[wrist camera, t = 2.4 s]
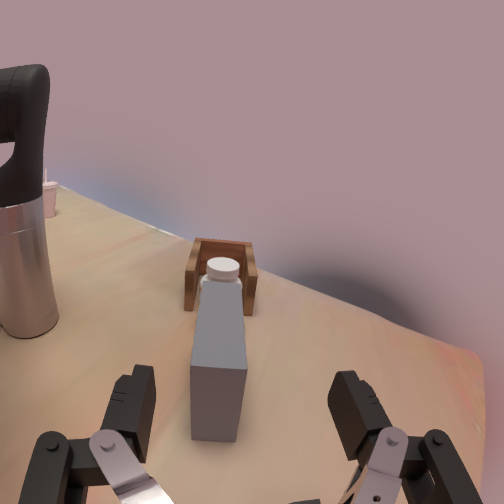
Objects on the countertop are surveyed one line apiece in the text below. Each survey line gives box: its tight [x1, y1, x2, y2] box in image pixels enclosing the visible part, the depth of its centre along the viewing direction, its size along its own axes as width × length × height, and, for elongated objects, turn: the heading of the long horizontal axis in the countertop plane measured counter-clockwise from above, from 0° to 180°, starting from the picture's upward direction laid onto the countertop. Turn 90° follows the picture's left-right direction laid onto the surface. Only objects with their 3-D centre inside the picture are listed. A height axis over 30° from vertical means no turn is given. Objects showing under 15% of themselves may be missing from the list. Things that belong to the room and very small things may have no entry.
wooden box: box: [184, 238, 258, 316], centre depth 49 cm, size 13×10×6 cm
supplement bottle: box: [198, 257, 242, 309], centre depth 39 cm, size 5×5×10 cm
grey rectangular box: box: [190, 281, 247, 442], centre depth 28 cm, size 13×4×10 cm, turn 4°
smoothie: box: [43, 169, 58, 218], centre depth 72 cm, size 6×6×14 cm
